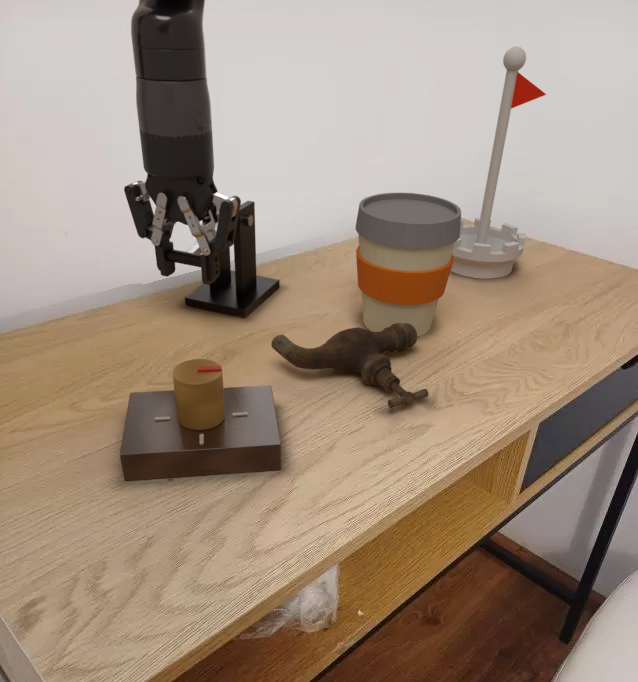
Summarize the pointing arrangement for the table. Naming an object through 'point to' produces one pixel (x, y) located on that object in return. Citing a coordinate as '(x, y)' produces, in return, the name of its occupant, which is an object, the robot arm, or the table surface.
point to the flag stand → (480, 239)
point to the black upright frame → (236, 274)
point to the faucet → (358, 356)
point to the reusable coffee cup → (404, 257)
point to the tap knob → (199, 394)
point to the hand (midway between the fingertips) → (188, 277)
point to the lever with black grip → (187, 254)
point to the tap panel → (200, 437)
